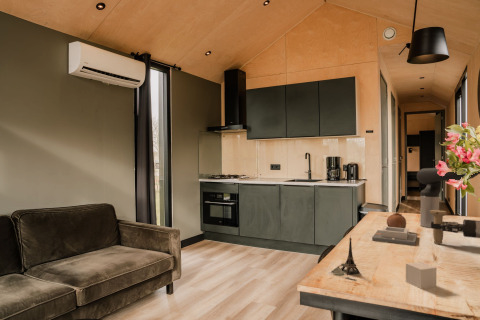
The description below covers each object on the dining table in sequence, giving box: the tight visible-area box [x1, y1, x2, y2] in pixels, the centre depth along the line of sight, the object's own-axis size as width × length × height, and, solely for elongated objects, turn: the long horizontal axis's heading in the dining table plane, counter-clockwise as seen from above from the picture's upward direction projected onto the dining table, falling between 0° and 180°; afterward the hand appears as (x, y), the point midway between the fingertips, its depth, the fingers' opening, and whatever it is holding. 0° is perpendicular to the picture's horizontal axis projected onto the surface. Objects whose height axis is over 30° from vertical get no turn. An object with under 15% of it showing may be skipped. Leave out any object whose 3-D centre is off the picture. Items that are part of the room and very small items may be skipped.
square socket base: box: [371, 225, 418, 246], centre depth 162 cm, size 18×18×4 cm
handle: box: [430, 209, 448, 245], centre depth 153 cm, size 5×6×15 cm
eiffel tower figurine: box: [331, 234, 362, 281], centre depth 117 cm, size 15×10×13 cm
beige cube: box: [405, 261, 438, 290], centre depth 105 cm, size 6×6×6 cm
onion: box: [386, 212, 407, 229], centre depth 178 cm, size 10×9×10 cm
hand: (431, 225), depth 155 cm, fingers open, 3 cm apart
